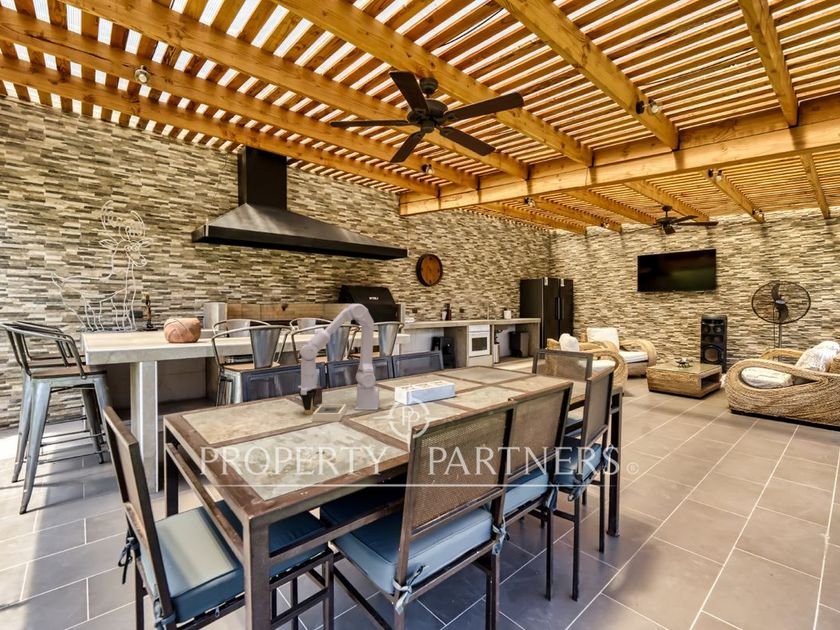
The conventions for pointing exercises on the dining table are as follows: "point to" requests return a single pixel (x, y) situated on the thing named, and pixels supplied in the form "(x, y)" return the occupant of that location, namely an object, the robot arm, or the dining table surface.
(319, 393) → the box
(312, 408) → the peg
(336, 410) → the socket plate
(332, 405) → the tray
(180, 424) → the dining table surface
